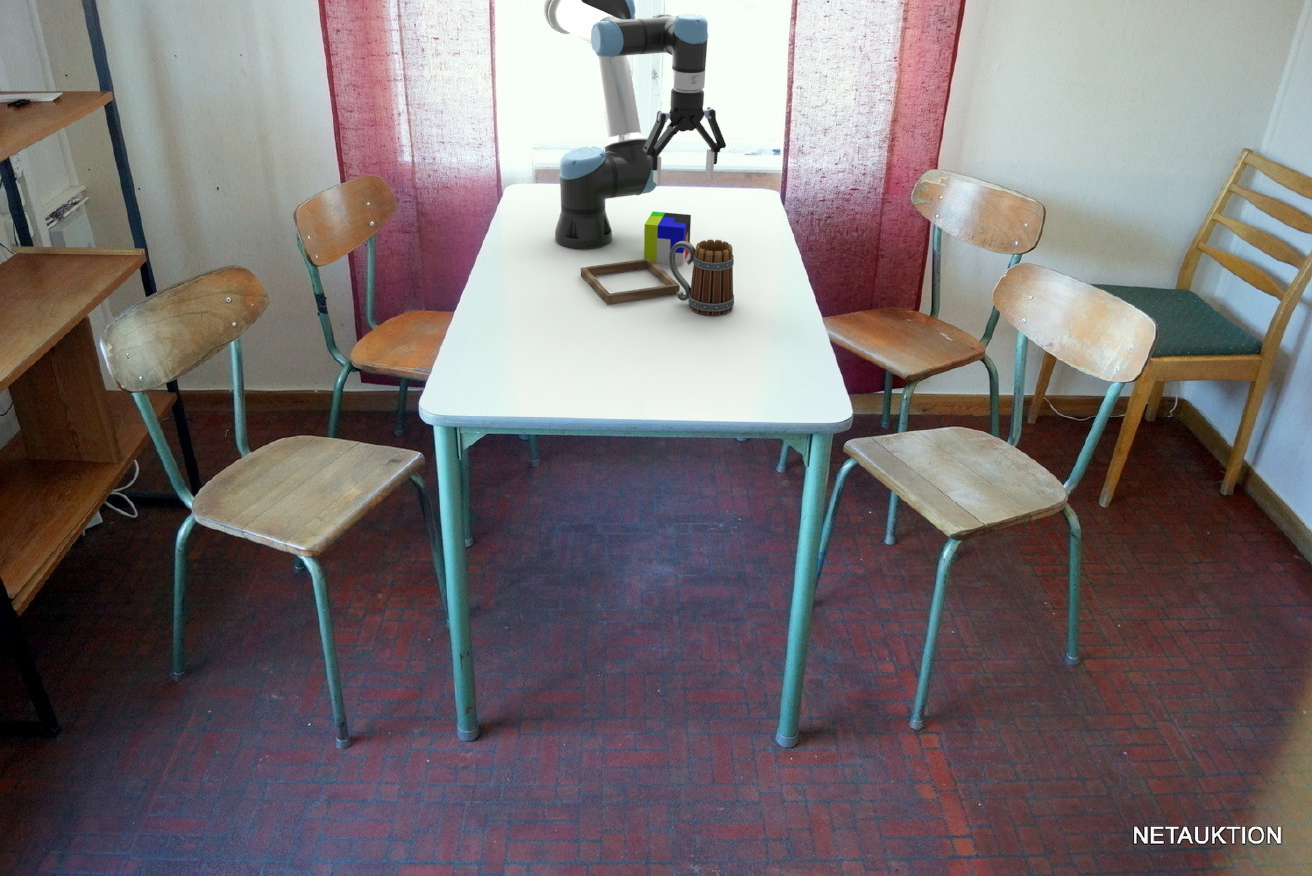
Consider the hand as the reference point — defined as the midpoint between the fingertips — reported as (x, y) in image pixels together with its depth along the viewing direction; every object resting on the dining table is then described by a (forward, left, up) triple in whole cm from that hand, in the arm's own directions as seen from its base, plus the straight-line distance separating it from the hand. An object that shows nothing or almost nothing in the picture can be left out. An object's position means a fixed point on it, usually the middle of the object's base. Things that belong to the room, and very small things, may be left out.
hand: (683, 180), depth 243 cm
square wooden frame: (+4, -15, -23) cm, 28 cm away
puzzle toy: (-10, +1, -23) cm, 26 cm away
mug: (+21, -4, -23) cm, 31 cm away
